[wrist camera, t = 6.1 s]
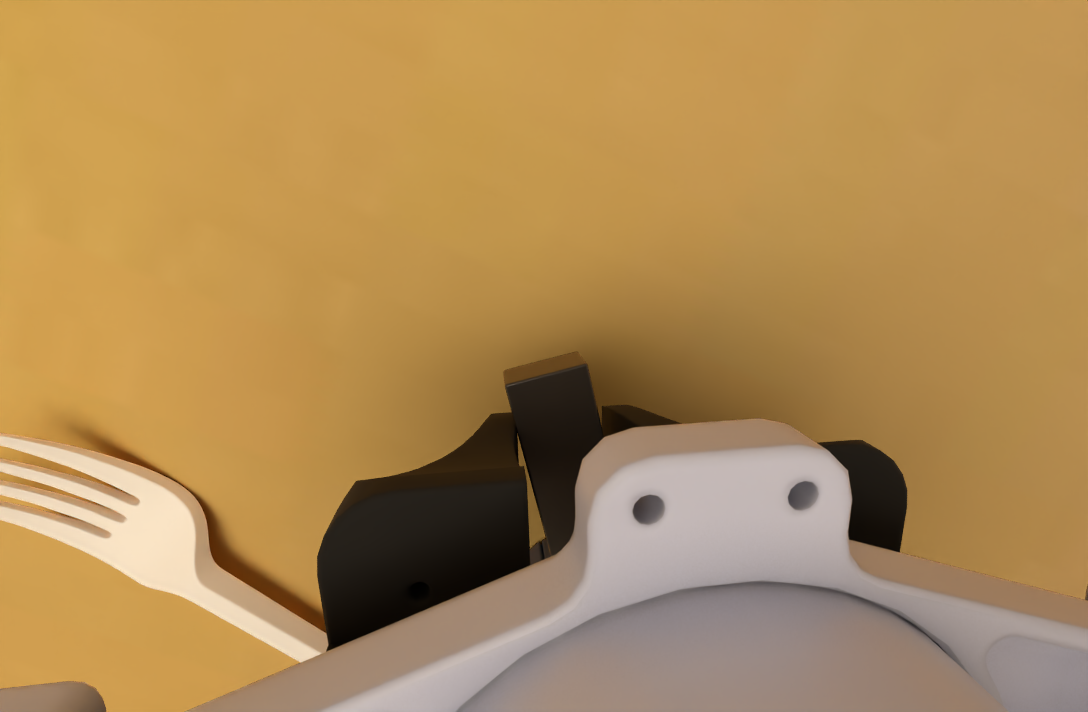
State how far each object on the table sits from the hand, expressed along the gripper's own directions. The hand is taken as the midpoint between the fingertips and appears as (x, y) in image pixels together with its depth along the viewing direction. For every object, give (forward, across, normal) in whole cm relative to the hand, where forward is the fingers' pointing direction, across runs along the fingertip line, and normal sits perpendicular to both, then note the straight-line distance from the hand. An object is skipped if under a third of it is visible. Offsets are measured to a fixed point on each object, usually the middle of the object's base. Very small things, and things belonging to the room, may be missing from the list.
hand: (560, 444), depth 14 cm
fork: (+3, +8, +7) cm, 11 cm away
